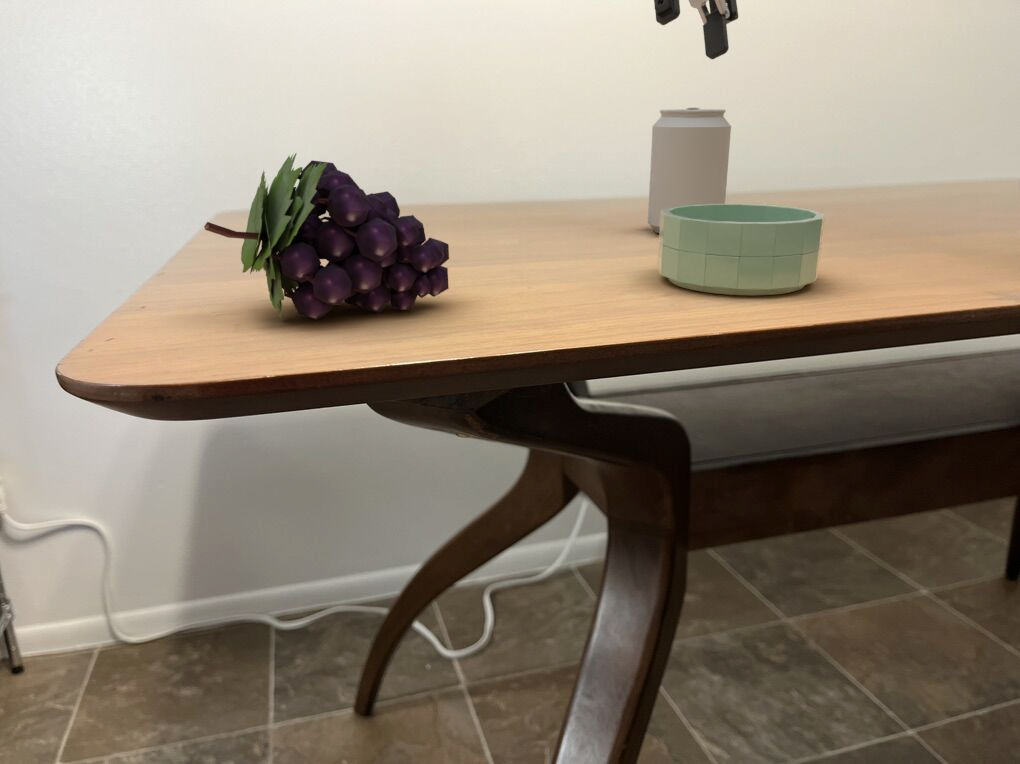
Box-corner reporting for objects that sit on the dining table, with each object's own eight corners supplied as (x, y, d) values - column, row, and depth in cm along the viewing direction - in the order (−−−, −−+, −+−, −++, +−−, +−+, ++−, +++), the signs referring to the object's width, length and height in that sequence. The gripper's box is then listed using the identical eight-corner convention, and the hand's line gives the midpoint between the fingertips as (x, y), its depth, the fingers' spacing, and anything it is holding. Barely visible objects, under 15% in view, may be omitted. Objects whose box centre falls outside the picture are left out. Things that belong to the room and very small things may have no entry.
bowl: (791, 266, 65) (797, 203, 63) (837, 298, 54) (847, 223, 53) (650, 266, 65) (653, 203, 64) (669, 297, 55) (673, 223, 53)
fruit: (447, 364, 51) (195, 331, 45) (407, 301, 60) (192, 266, 54) (492, 208, 48) (225, 147, 41) (443, 165, 56) (216, 110, 50)
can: (644, 236, 80) (650, 108, 76) (650, 226, 87) (656, 107, 83) (722, 239, 78) (733, 107, 74) (722, 228, 85) (732, 107, 81)
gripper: (670, -173, 74) (685, -13, 71) (750, -95, 84) (766, 49, 81) (605, -124, 79) (617, 27, 76) (687, -56, 89) (700, 80, 86)
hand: (694, 38), depth 78 cm, fingers open, 8 cm apart
